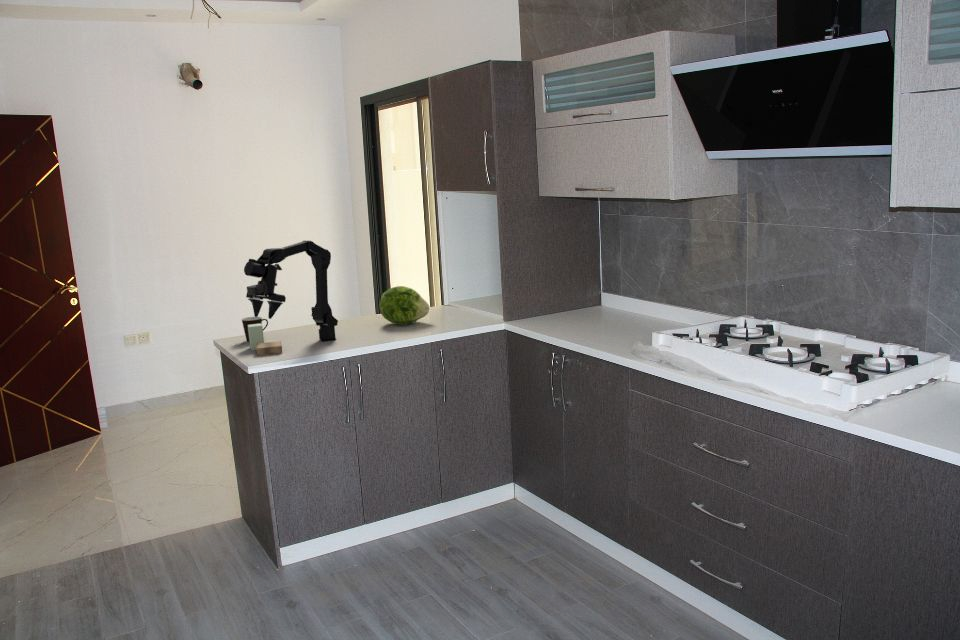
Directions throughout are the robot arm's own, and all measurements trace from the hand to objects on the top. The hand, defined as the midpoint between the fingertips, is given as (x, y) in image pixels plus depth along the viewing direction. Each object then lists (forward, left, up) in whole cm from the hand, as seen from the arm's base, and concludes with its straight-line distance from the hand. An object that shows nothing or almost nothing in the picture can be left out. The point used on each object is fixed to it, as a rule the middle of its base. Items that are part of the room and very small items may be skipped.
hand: (262, 317), depth 321 cm
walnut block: (-1, -6, -16) cm, 17 cm away
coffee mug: (+4, -33, -16) cm, 37 cm away
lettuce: (-64, -37, -16) cm, 76 cm away
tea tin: (+4, -16, -16) cm, 23 cm away
